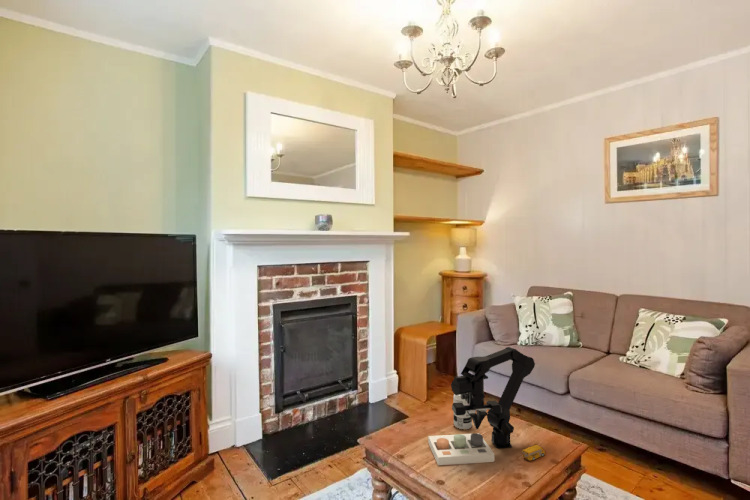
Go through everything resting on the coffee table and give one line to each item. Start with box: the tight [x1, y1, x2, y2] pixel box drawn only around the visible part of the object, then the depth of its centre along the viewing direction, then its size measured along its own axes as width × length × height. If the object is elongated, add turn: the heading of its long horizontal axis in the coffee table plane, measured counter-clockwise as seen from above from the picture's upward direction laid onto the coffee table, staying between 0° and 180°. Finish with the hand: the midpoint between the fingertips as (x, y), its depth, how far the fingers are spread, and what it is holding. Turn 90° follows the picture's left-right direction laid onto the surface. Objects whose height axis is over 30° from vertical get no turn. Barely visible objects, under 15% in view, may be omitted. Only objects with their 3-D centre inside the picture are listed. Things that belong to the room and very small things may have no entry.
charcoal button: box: [470, 432, 484, 448], centre depth 154 cm, size 5×5×3 cm
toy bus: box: [521, 444, 546, 461], centre depth 150 cm, size 3×10×4 cm, turn 119°
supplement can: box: [452, 393, 473, 430], centre depth 175 cm, size 8×8×15 cm
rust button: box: [437, 438, 449, 450], centre depth 153 cm, size 5×5×3 cm
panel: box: [427, 432, 495, 466], centre depth 154 cm, size 22×16×3 cm
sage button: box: [453, 433, 466, 449], centre depth 154 cm, size 5×5×3 cm
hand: (476, 428), depth 154 cm, fingers closed
